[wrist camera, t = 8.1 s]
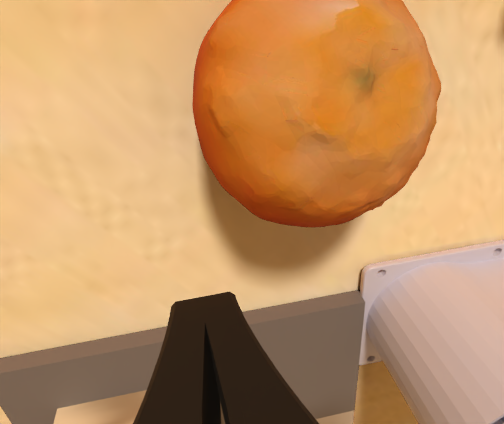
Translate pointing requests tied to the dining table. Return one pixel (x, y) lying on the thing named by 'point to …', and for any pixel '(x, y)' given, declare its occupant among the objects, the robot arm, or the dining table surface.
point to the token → (102, 410)
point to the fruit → (314, 105)
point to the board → (149, 346)
